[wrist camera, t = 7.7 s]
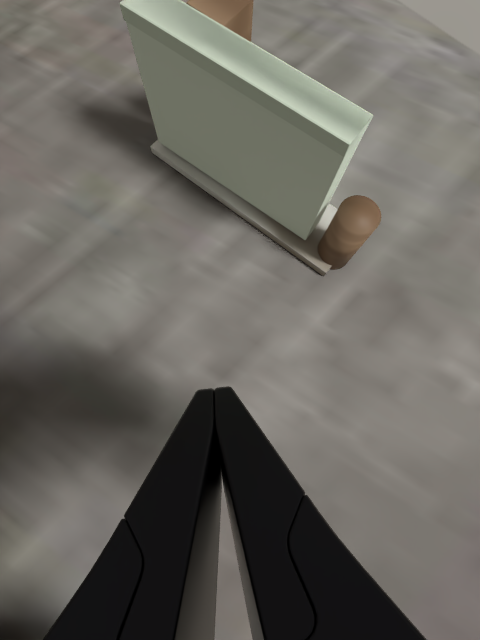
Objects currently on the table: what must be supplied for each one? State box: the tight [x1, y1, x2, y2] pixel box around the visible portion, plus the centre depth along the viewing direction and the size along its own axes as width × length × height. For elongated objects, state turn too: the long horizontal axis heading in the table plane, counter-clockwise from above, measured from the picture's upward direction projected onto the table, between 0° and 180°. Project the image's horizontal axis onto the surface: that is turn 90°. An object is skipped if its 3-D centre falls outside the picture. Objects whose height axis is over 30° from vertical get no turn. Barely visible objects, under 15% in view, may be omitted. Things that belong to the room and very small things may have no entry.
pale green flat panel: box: [119, 0, 373, 240], centre depth 19 cm, size 13×2×8 cm, turn 53°
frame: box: [150, 0, 381, 276], centre depth 20 cm, size 6×17×9 cm, turn 52°
